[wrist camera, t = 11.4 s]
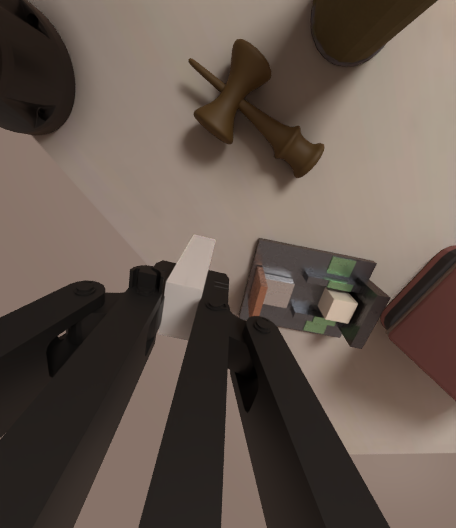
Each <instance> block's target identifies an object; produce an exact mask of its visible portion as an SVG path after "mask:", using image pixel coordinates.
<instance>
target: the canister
mask: <svg viewBox="0 0 456 528" xmlns="http://www.w3.org/2000/svg"><path fill="white" fill-rule="evenodd" d="M436 1H437V0H313V5H312V13H311V30H312V35H313V38H314V41H315V44H316V47H317V49H318V50H319V52H320V53H321V54H322V55H323V57H324V58H326V59H327V60H328V61H330V62H331V63H332V64H336V65H340V66H355V65H358V64H361V63H363V62H365V61H367V60H369V59H371V58H372V57H373V56H375V55H376V54H377V53H378V52H379V51H380V50H381V49H382V48H383V47H384V46H385V44H386V43H387V42H388V41H390V40H391V39H392V38H393V37H394V36H395V35H397V34H398V33H399V32H400V31H401V30H403V29H404V28H405V27H406V26H407V25H409V24H410V23H411V22H412V21H413V20H415V19H416V18H417V17H418V16H419V15H421V14H422V13H423V12H424V11H425V10H427V9H428V8H429V7H430V6H431V5H433V4H434V3H435V2H436Z"/></svg>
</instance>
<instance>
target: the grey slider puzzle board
mask: <svg viewBox="0 0 456 528" xmlns="http://www.w3.org/2000/svg"><path fill="white" fill-rule="evenodd" d="M376 264H377V263H375V262H374V261H371V260H366V259H361V258H356V257H351V256H346V255H341V254H337V253H332V252H327V251H322V250H317V249H312V248H307V247H302V246H297V245H292V244H287V243H282V242H277V241H272V240H267V239H262V238H259V240H258V244H257V248H256V252H255V255H254V259H253V263H252V267H251V271H250V275H249V279H248V282H247V286H246V290H245V294H244V298H243V302H242V306H241V309H240V313H239V318H240V319H242V320H247V319H248V318H249V309H248V298H249V295H250V291H251V287H252V284H253V280H254V276H255V272H256V269H257V266H259V267H263V270H264V273H265V274H270V275H275V276H280V277H285V278H290V279H293V282H294V284H295V285H294V288H293V291H292V294H291V297H290V299H289V302H288V305H287V308H282V307H277V306H272V305H267V304H263V305H262V308H261V312H260V315H259V316H261V317H264V318H267V319H269V320H270V321H272V322H273V323H274V324H275V325H276V326H280V327H285V328H290V329H296V330H301V331H306V332H312V333H317V334H322V335H328V336H333V337H338V338H340V336H341V334H343V336H344V338H345V339H346V341H347V342H348V344H349V346H350V347H355V348H360V349H362V348H363V346H364V344H365V342H366V341H367V339H368V337H369V335H370V333H371V332H372V330H373V328H374V326H375V324H376V323H377V321H378V319H379V317H380V316H381V314H382V312H383V310H384V308H385V307H386V305H387V303H388V301H389V300H390V297H389V296H388V295H387V294H386V293H384V292H383V291H382V290H381V289H380V288H379V287H377V286H376V285H375V284H374V283H373V282H372V281H370V280H369V278H370V276H371V274H372V272H373V270H374V268H375V266H376ZM325 287H328V288H333V289H338V290H343V291H347V292H348V293H349V294H350V295H351V296H352V297H353V298H354V300H355V301H356V302H357V303H358V305H357V307H356V309H355V311H354V313H353V315H352V317H351V319H350V321H349V323H348V324H347V323H342V322H337V321H331V320H326V319H325V318H324V316H323V315H322V313H321V311H320V309H319V308H318V303H319V301H320V299H321V296H322V294H323V291H324V289H325Z"/></svg>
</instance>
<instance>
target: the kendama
mask: <svg viewBox="0 0 456 528" xmlns="http://www.w3.org/2000/svg"><path fill="white" fill-rule="evenodd" d="M189 63H190V65H191V66H192V67H193V68H194V69H195V70H196V71H197V72H199V73H200V74H201V75H202V76H203V77H204V78H205V79H206V80H207V81H208V82H210V83H211V84H212V85H213V86H214V87H215V88H216V89H217V90H218V91H219V92H221V93H220V95H219V97H218V98H217V99H215V100H214V101H213V102H211V103H209V104H207V105H205V106H203V107H201V108H199V109H197V110H195V111H194V117H195V118H196V119H197V121H198V122H199V123H200V124H201V125H202V126H203V127H204V128H206V129H207V130H208V131H209V132H210V133H212V134H213V135H214V136H216V137H217V138H218V139H220V140H221V141H223V142H225V143H227V144H232V142H233V128H234V118H235V114H236V112H237V110H238V109H239V110H240V111H241V112H242V113H243V114H244V115H245V116H246V117H247V118H248V119H249V120H250V121H251V122H252V123H253V124H254V126H255V127H256V128H257V129H258V130H259V131H260V132H261V133H262V134H263V135H264V137H265V138H266V139H267V140H268V141H269V143H270V144H271V145H272V147H273V149H274V153H275V154H274V156H275V158H276V159H279V158H281V159H284V160H285V161H287V162H288V163H289V164H290V166H291V167H292V169H293V174H294V176H295V177H296V178H300V177H303V176H304V175H305V174H307V173H308V172H309V171H310V170H311V169H312V168H313V167H314V166H315V165H316V163H317V162H318V160H319V159H320V157H321V155H322V153H323V151H324V144H321V143H317V144H312V143H310V142H309V141H307V140H306V139H305V138H304V137H303V136H302V134H301V130H300V126H295V127H289V126H286V125H284V124H282V123H280V122H278V121H276V120H275V119H273V118H272V117H270V116H268V115H267V114H265V113H264V112H262V111H261V110H259V109H258V108H256V107H255V106H253V105H252V104H250V103H249V102H248V101H246V100H245V99H244V98H245V97H246V96H247V95H248V94H249V93H250V92H251V91H253V90H254V89H256V88H258V87H260V86H261V85H263V84H265V83H266V82H267V81H268V80H269V79H270V78H271V69H270V66H269V63H268V62H267V60H266V59H265V57H264V56H263V55H262V54H261V52H260V51H259V50H258V49H257V48H256V47H254V46H253V45H252V44H251V43H249V42H247V41H245V40H243V39H237V40H236V41H235V43H234V45H233V49H232V58H231V68H230V74H229V78H228V80H227V83H226V85H225V84H224V83H223V82H222V81H220V80H219V79H218V78H217V77H215V76H214V75H213V74H212V73H210V72H209V71H208V70H207V69H205V68H204V67H203V66H201V65H200V64H199V63H197V62H196V61H195V60H193V59H191V58H190V59H189Z"/></svg>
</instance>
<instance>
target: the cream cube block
mask: <svg viewBox="0 0 456 528" xmlns="http://www.w3.org/2000/svg"><path fill="white" fill-rule="evenodd" d="M357 305H358V303H357V302H356V301H355V300H354V298H353V297H352V296H351V295H350V294H349V293H348V292H347V291H343V290H338V289H333V288H328V287H325V289H324V291H323V294H322V296H321V299H320V301H319V303H318V308H319V309H320V311H321V313H322V315H323V316H324V318H325V319H326V320H331V321H337V322H342V323H347V324H348V323H349V321H350V319H351V317H352V315H353V313H354V311H355V309H356V307H357Z"/></svg>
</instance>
